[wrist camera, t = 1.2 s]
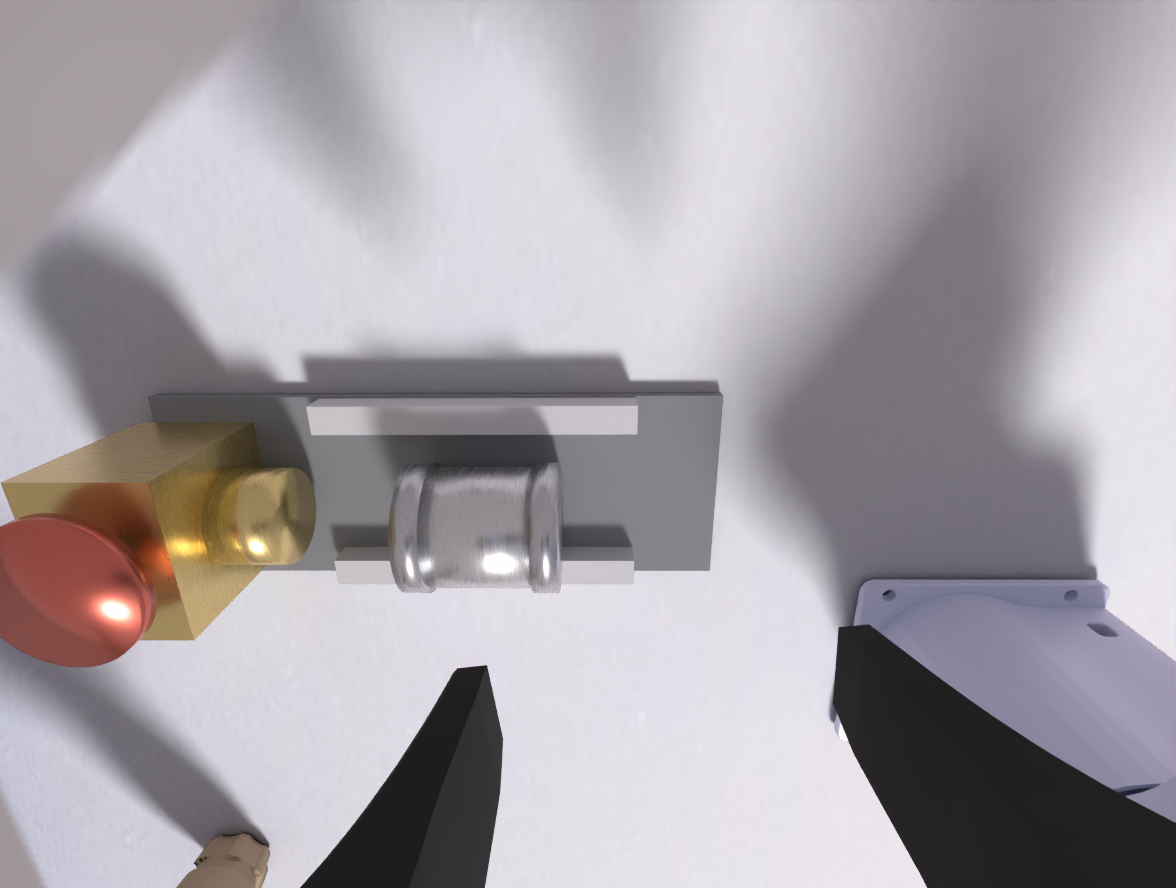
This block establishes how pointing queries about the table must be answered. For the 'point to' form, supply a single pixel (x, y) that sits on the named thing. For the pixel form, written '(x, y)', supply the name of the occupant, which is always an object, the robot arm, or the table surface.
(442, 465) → the grey railed tray
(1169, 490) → the table surface
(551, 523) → the coupling
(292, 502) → the valve
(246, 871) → the handle
